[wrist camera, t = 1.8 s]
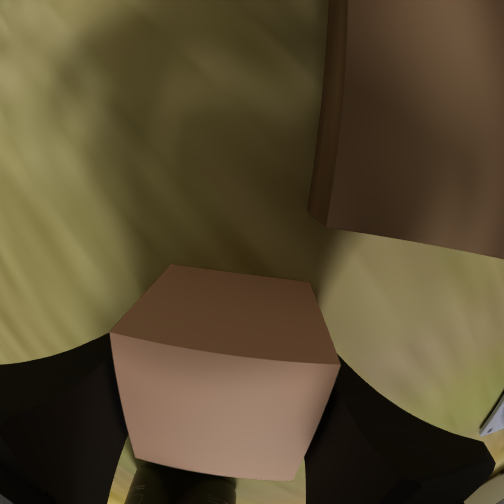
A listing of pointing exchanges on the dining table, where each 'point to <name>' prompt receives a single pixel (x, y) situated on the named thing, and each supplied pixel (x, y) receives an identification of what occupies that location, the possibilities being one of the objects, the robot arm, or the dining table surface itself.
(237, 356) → the terracotta cube
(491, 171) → the walnut base
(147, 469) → the supplement bottle
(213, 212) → the dining table surface
